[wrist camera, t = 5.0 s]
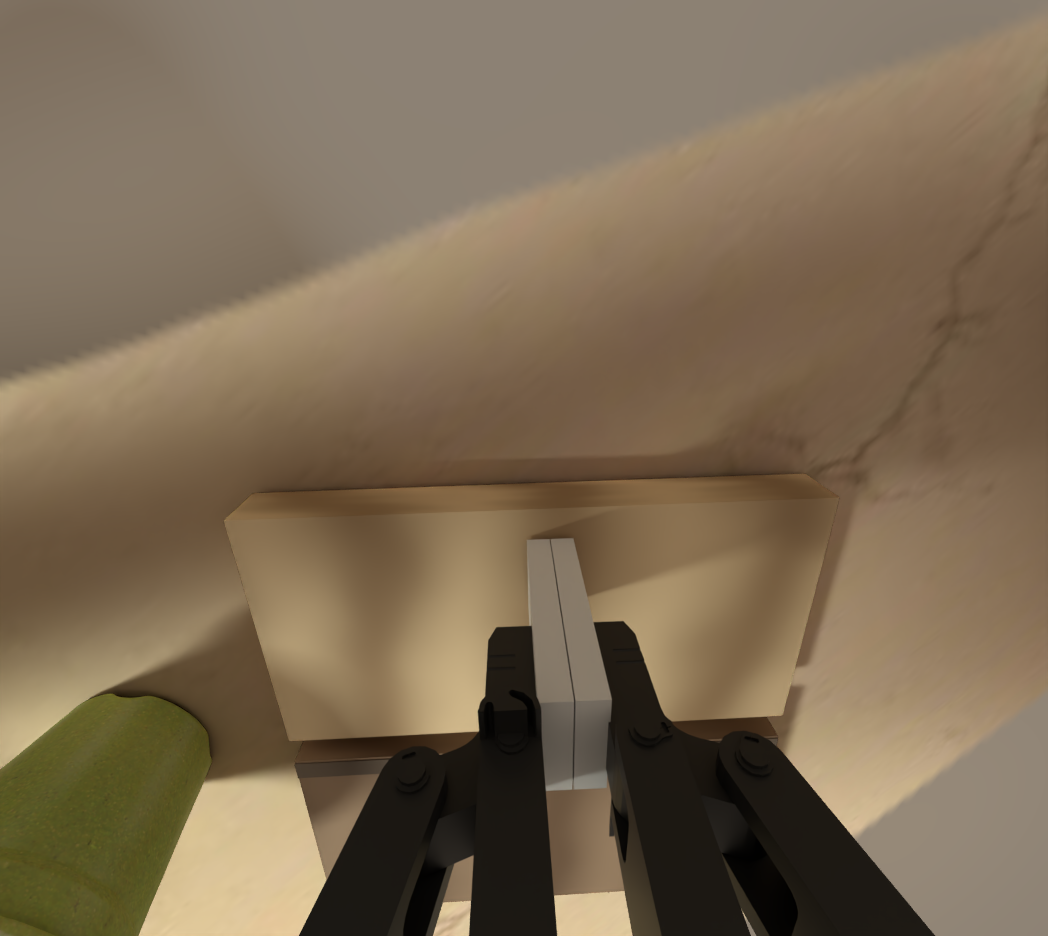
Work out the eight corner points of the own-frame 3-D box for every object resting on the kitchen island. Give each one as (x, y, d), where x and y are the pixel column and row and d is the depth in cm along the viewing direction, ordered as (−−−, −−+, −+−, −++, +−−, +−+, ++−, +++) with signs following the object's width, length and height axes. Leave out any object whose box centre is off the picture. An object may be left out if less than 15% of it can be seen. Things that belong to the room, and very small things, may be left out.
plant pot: (298, 744, 22) (182, 1012, 14) (170, 838, 24) (3, 1122, 16) (114, 619, 19) (-164, 865, 11) (-15, 737, 21) (-331, 1019, 13)
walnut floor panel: (346, 862, 25) (334, 910, 23) (312, 720, 22) (294, 762, 20) (725, 839, 26) (743, 884, 24) (754, 697, 22) (778, 737, 20)
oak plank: (307, 699, 21) (289, 741, 19) (253, 493, 17) (223, 520, 15) (758, 677, 22) (782, 715, 20) (804, 473, 18) (839, 497, 16)
